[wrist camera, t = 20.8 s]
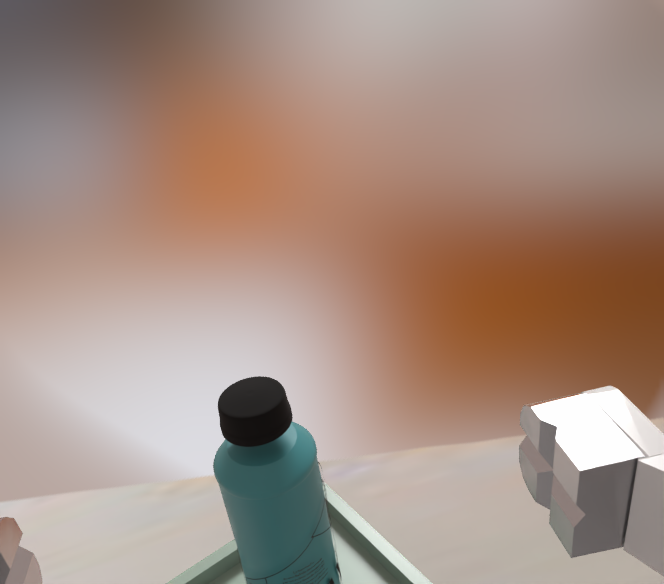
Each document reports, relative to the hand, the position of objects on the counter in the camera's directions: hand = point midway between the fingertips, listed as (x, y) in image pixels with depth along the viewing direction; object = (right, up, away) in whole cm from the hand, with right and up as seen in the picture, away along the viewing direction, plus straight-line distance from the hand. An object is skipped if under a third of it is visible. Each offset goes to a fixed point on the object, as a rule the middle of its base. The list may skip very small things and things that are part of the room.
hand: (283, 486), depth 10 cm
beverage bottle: (-1, -20, +33) cm, 39 cm away
